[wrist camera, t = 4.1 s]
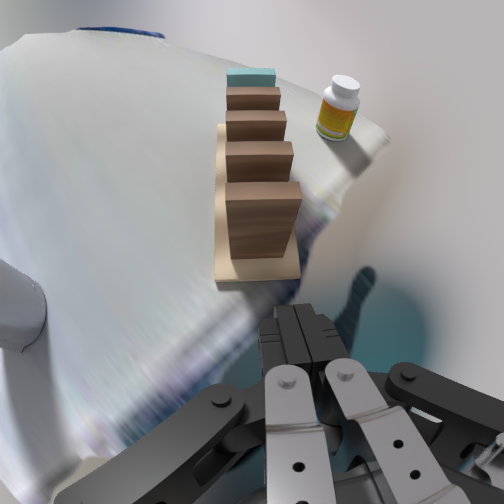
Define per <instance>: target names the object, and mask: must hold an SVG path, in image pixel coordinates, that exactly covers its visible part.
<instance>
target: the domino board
mask: <svg viewBox="0 0 504 504" xmlns="http://www.w3.org/2000/svg"><path fill="white" fill-rule="evenodd" d="M225 142H227V136H226V124H218V131H217V155H216V189H215V282H237V281H263V280H285V279H300V277H301V273H300V264H299V256H298V248H297V241H296V233H295V226H293V229H292V232H291V235H290V238H289V241H288V244H287V247H286V251H285V254H284V257H283V258H261V259H232V260H231V258H230V247H229V237H228V226H227V215H226V204H225V183H227V173H226V158H225Z"/></svg>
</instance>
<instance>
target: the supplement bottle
mask: <svg viewBox="0 0 504 504" xmlns="http://www.w3.org/2000/svg"><path fill="white" fill-rule="evenodd" d="M359 89H360V85H359V84H358V82H357V81H356V80H354V79H352V78H350V77H348V76H344V75H335V76H334V77H333V78H332V81H331V86H330V87H328V88H326V89H325V91H324V94H323V97H322V102H321V106H320V109H319V113H318V117H317V121H316V130H317V131H318V133H319V134H320V135H321V136H323V137H324V138H326V139H328V140H332V141H342V140H344V139H346V138H347V136H348V134H349V132H350V129H351V126H352V124H353V121H354V118H355V115H356V113H357V110H358V107H359V104H360V101H359V98H358V96H357V95H358V92H359Z"/></svg>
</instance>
